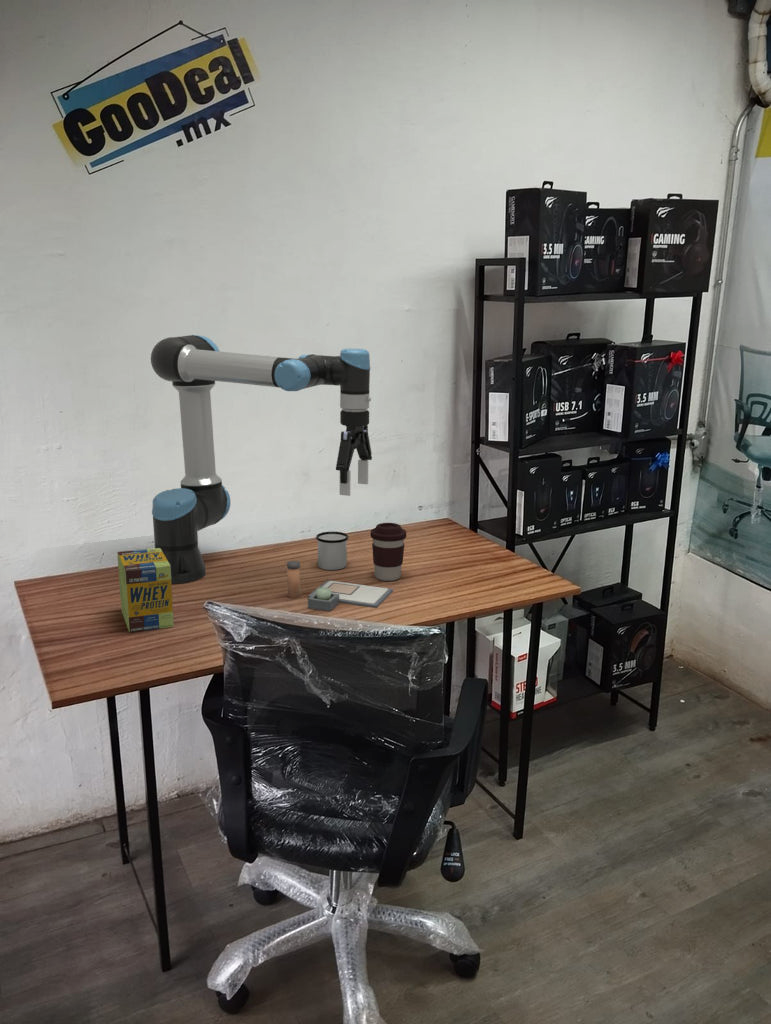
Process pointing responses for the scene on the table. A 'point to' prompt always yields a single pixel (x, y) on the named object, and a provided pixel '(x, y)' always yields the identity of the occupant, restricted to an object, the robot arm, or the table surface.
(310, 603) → the button housing
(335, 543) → the mug
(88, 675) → the table surface
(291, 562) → the marker
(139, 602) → the protein box
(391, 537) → the coffee cup
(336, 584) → the picture board
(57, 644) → the table surface
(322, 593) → the button
